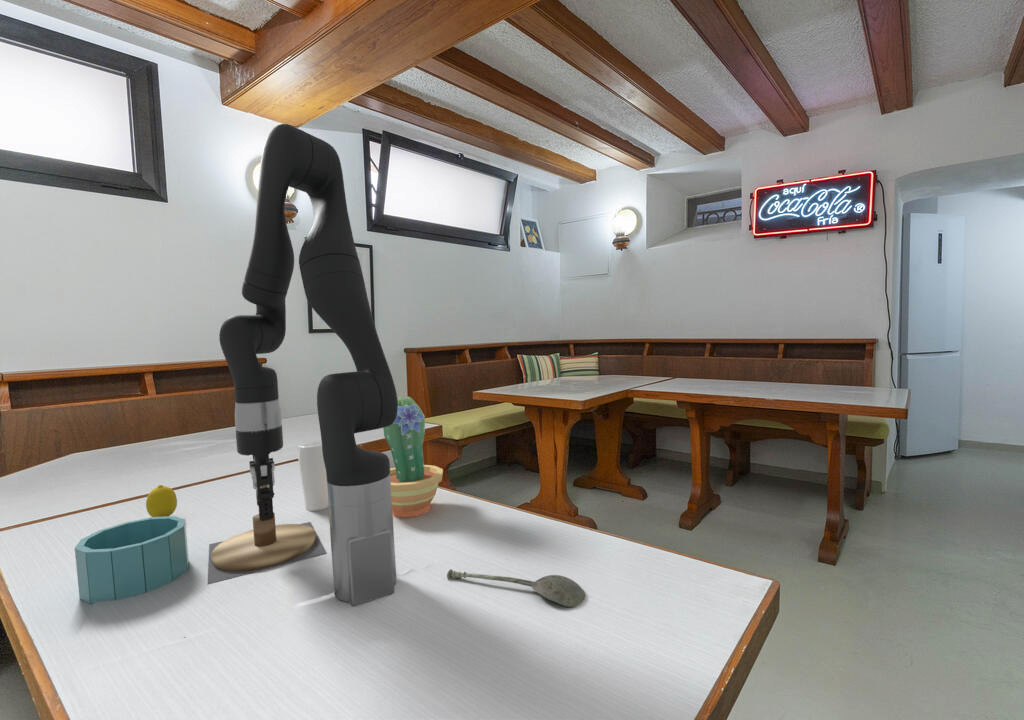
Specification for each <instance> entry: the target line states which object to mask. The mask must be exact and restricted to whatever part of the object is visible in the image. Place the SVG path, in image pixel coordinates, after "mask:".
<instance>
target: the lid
mask: <svg viewBox="0 0 1024 720" xmlns="http://www.w3.org/2000/svg"><path fill="white" fill-rule="evenodd" d="M301 524H302V523H286V524H285V523H283V524H282V523H281V524H276V516H275V512H273V518H272V519H271V520H266V521H260V519H259V513H257V514H255V515H253V516H252V528H253V529H251V530H250V529H249V530H247V531H244V532H241V533H238V534H236V535H233V536H230V537H229V538H227V539H226V540H223V541H224V542H222V541H221V542H222V543H220V544H219V545H218V546H217V547H215V549H214V550H213V551H212V554H211V557H212V564H213V566H214V567H216V568H218V569H220V570H225V571H250V570H257V569H262V568H267V567H271V566H274V565H278V564H281V563H284V562H286V561H289V560H292V559H294V558H296V557H298V556H300V555H302V554H303V553H305V552H306V551H308V550H309V549H310V548H311V547H312V546H313V545H314V544H315V541H316V534H315V531H316V529H315V528H314V527H313V528H314V529H315V530H314V529H313V528H311V527H309V526H306V525H301Z"/></svg>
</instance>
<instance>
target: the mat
mask: <svg viewBox="0 0 1024 720" xmlns="http://www.w3.org/2000/svg"><path fill="white" fill-rule="evenodd" d="M300 524H301V525H306V526H309V527H311V528H313V529H314V530H315V534H316V541H315V544H314V545H313V546H312V547H311V548H310V549H309V550H308V551H306V552H305V553H303V554H302V555H300V556H298V557H296V558H294V559H292V560H289V561H286V562H284V563H281V564H278V565H274V566H271V567H267V568H262V569H257V570H250V571H225V570H220V569H218V568H216V567H214V566H213V564H212V557H211V554H212V551H213V550H214V549H215V547H217V546H218V545H219V544H220V543H222V542H224V541H225V540H222V541H217V542H214V543H209V546H208V561H207V562H208V565H207V582H206V583H207V585H210V584H211V585H212V584H214V583H219V582H223V581H226V580H227V581H228V580H231V579H234V578H239V577H242V576H246V575H250V574H254V573H257V572H261V571H264V570H269V569H274V568H276V567H277V568H278V567H280V566H284V565H289V564H293V563H297V562H301V561H304V560H307V559H312V558H315V557H320V556H323V555H327V554H328V552H327V551H326V549H325V547H324V545H323V543H322V542H321V539H320V537H319V535H318V533H317V532H316V529H315V527H314V526H313V524H312V522H311V521H308V522H303V523H300Z"/></svg>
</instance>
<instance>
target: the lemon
mask: <svg viewBox="0 0 1024 720" xmlns="http://www.w3.org/2000/svg"><path fill="white" fill-rule="evenodd" d="M145 502H146V503H145V506H146V507H145V508H146V511H147V513H148V515H149V517H150V518H151V517H166V516H172V515H173V513H174V512H175V511H176V509H177V507H178V498H177V495H176V492H175V491H174V489H172V488H171V487H170V486H167V485H166V486H165V485H162V484H159V485H158V486H157V487H155V488H153V489H152V490H151V491H150V492H149V493H148V495H147V498H146V501H145Z"/></svg>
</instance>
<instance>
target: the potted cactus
mask: <svg viewBox="0 0 1024 720" xmlns="http://www.w3.org/2000/svg"><path fill="white" fill-rule="evenodd" d="M397 400H398V412H397V416H396V419H395V421H394V422H393V423H392V424H391V425H390V426H388V427H385V428H382V429H383V437H384V438H385V441H386V443H387V445H388V447H389V448H390V452H391V456H392V459H393V460H392V461H393V463H394V467H393V468H392V467H390V479H391V498H392V514H393V517H396V518H397V517H399V518H411V517H412V518H413V517H417V516H420V515H424V514H426V513H427V512H429V511H430V510H431V507H432V505H431V503H432V500H433V499H434V497H435V496H436V494H437V489H438V486H439V483H441V482H442V480H443V475H444V468H441V467H439V466H436V465H431V464H430V465H429V464H425V461H424V453H423V451H424V450H423V449H424V448H423V444H424V439H425V435H426V427H425V425H426V422H425V421H426V420H425V419H426V417H425V416H426V415H425V414H424V412H423V411H422V409H421V407H419V405H418V404H417V402H415V400H414V399H413V398H412V397H411V396H407V397H405V398H404V397H402V396H399V397H397Z"/></svg>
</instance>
